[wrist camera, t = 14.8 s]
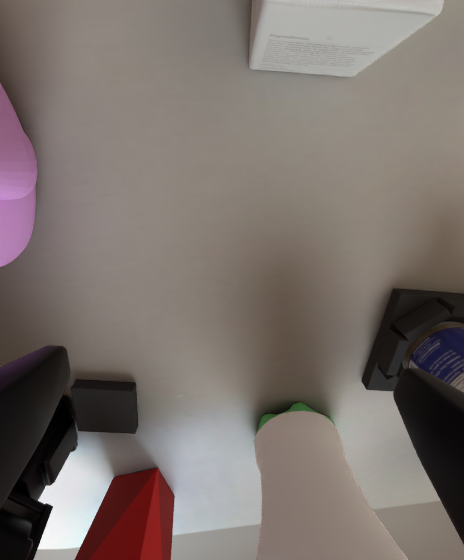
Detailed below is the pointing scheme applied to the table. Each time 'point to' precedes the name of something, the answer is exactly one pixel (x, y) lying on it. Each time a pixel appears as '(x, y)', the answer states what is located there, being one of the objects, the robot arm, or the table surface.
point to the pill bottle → (439, 353)
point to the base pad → (105, 406)
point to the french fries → (132, 520)
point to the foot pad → (407, 331)
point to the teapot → (15, 183)
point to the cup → (313, 494)
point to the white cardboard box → (331, 33)
